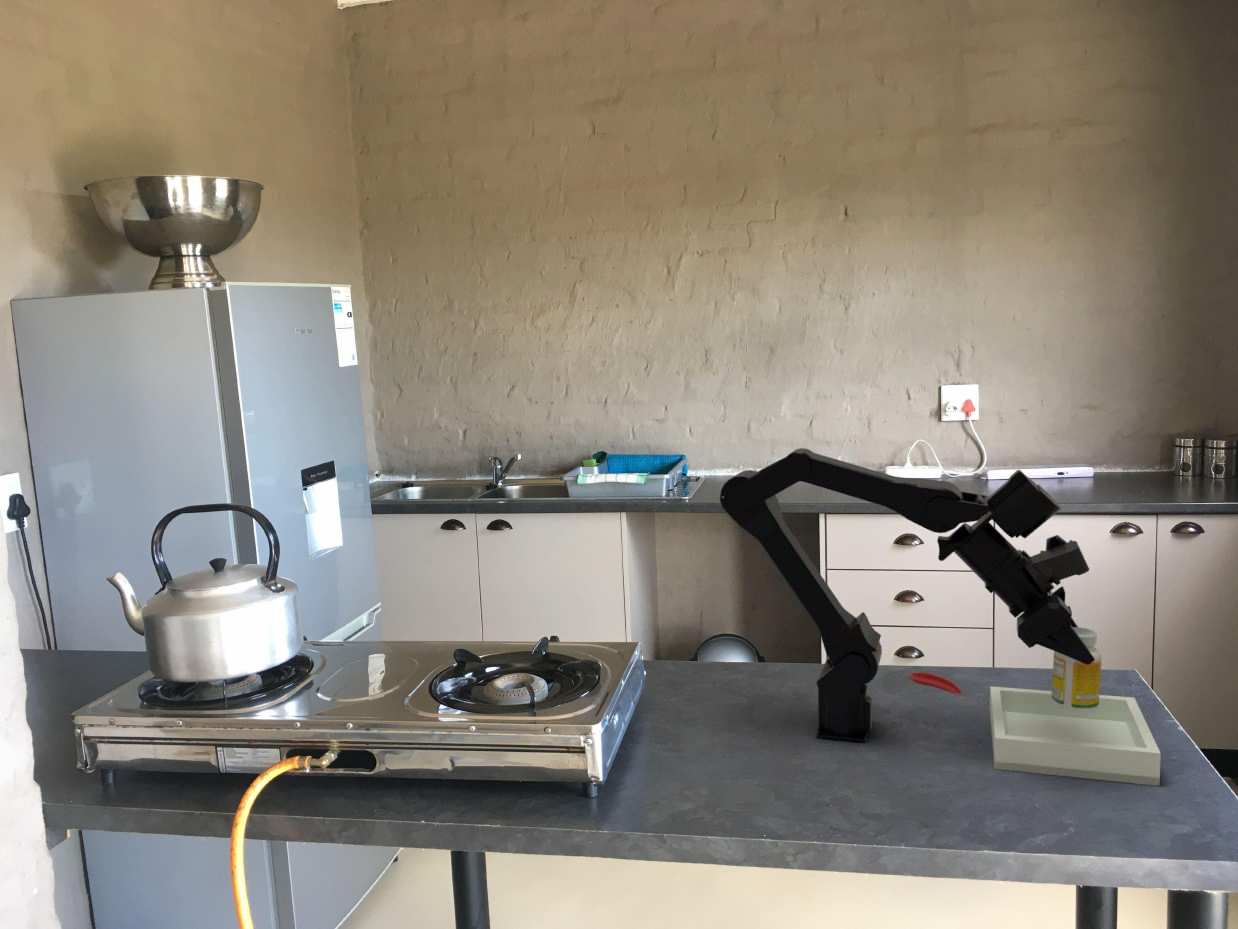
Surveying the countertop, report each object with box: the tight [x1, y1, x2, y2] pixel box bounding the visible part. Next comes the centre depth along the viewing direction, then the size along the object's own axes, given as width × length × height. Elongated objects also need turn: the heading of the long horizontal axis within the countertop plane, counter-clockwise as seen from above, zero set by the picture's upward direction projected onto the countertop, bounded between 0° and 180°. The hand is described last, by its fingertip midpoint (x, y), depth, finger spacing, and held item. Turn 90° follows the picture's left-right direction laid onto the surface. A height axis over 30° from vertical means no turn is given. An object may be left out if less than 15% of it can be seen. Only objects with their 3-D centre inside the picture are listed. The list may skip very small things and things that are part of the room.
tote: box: [989, 685, 1162, 787], centre depth 126 cm, size 18×18×4 cm
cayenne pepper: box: [909, 671, 964, 696], centre depth 149 cm, size 12×5×2 cm, turn 13°
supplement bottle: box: [1051, 626, 1102, 713], centre depth 122 cm, size 5×5×10 cm
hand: (1089, 654), depth 121 cm, fingers closed on supplement bottle, 5 cm apart
